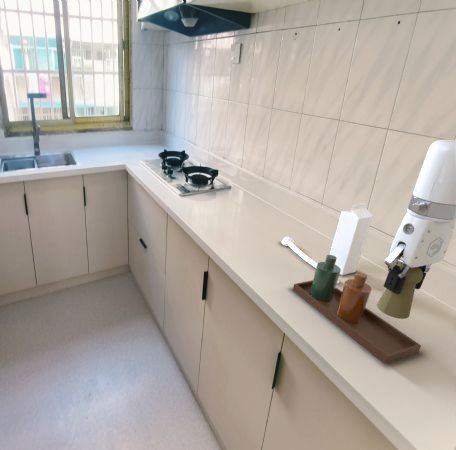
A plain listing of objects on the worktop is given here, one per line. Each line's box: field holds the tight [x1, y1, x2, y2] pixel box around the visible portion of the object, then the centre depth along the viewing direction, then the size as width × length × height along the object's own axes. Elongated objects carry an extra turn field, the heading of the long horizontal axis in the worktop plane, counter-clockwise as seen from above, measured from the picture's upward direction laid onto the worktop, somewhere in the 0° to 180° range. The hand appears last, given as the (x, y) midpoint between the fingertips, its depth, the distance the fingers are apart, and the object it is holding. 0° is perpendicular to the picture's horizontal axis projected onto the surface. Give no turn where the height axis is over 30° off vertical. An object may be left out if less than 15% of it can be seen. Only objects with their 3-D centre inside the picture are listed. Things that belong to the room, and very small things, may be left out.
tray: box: [292, 279, 422, 365], centre depth 84 cm, size 10×28×2 cm, turn 20°
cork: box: [376, 263, 423, 320], centre depth 71 cm, size 6×6×11 cm
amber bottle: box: [336, 271, 372, 323], centre depth 82 cm, size 6×6×12 cm
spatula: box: [281, 236, 340, 285], centre depth 110 cm, size 28×4×3 cm, turn 15°
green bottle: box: [310, 254, 341, 302], centre depth 90 cm, size 6×6×12 cm
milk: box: [329, 202, 374, 276], centre depth 102 cm, size 6×6×22 cm
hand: (401, 287), depth 71 cm, fingers closed on cork, 5 cm apart
